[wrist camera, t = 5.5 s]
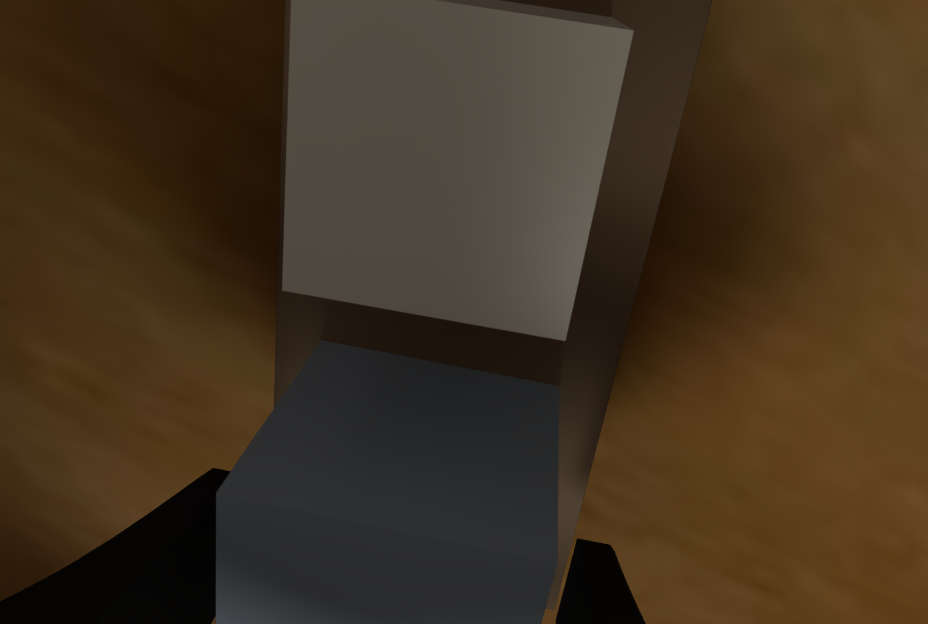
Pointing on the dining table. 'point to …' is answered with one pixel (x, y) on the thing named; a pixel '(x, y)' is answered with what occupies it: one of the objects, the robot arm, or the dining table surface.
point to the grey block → (447, 155)
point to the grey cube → (393, 498)
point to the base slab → (602, 274)
